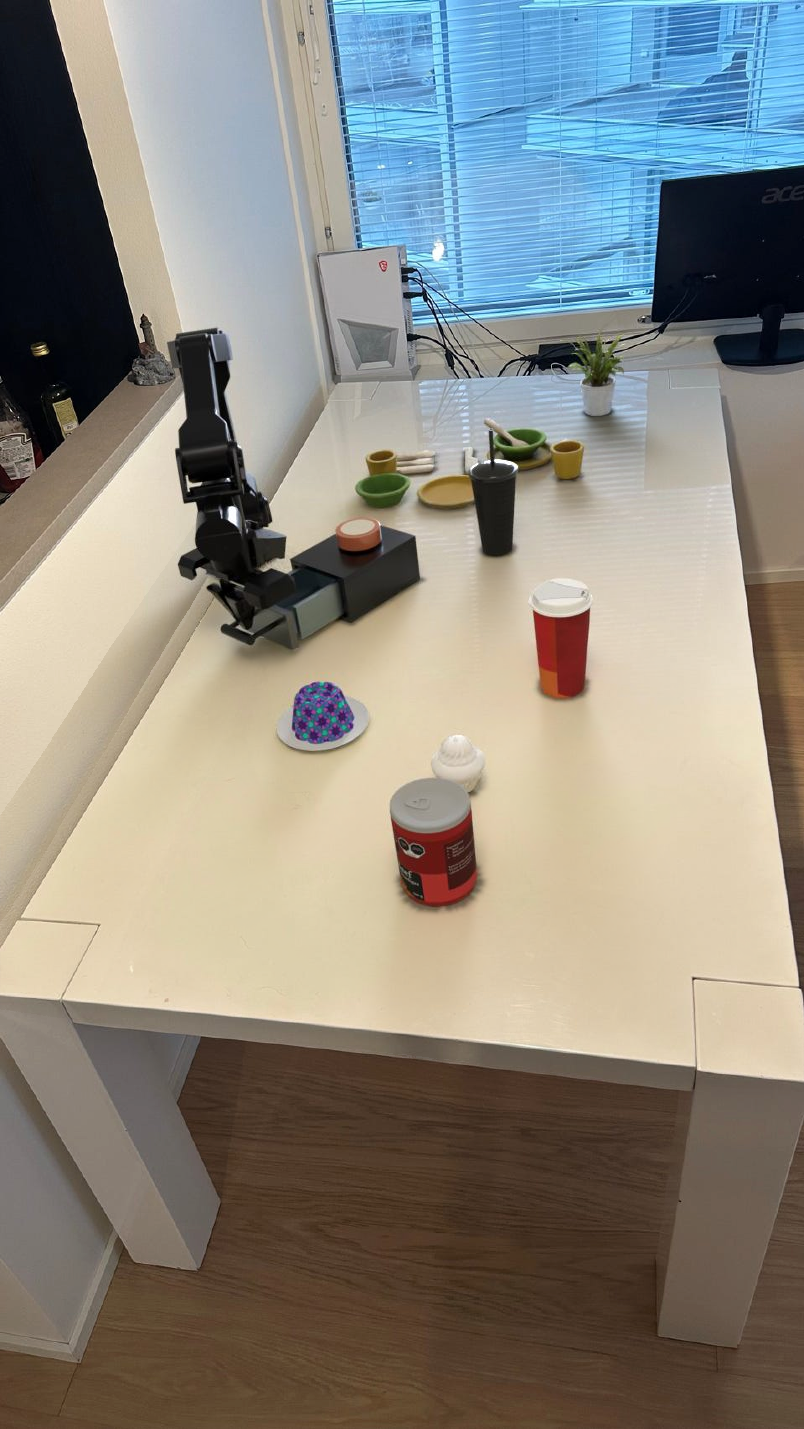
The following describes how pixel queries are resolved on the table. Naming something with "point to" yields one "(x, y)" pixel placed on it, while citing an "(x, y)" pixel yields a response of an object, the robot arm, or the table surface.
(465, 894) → the canned food
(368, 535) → the round tin
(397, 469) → the tableware set
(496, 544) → the drinking cup
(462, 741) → the muffin
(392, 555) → the cabinet
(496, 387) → the table surface
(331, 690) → the pudding
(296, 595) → the drawer
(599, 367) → the house plant
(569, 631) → the paper cup
